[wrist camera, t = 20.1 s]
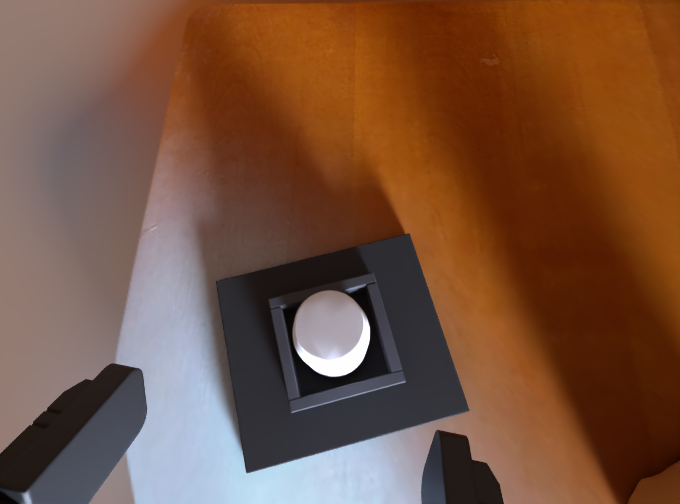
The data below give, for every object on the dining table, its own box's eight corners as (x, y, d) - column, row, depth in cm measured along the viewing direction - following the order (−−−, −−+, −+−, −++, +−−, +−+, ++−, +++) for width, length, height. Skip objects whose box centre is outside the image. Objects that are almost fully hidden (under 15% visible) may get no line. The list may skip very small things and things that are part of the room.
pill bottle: (379, 340, 31) (390, 320, 23) (338, 391, 29) (333, 389, 21) (331, 299, 32) (325, 267, 24) (289, 347, 31) (268, 330, 23)
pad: (249, 471, 29) (238, 479, 26) (219, 284, 33) (207, 273, 31) (465, 410, 30) (478, 412, 27) (407, 237, 34) (413, 223, 32)
